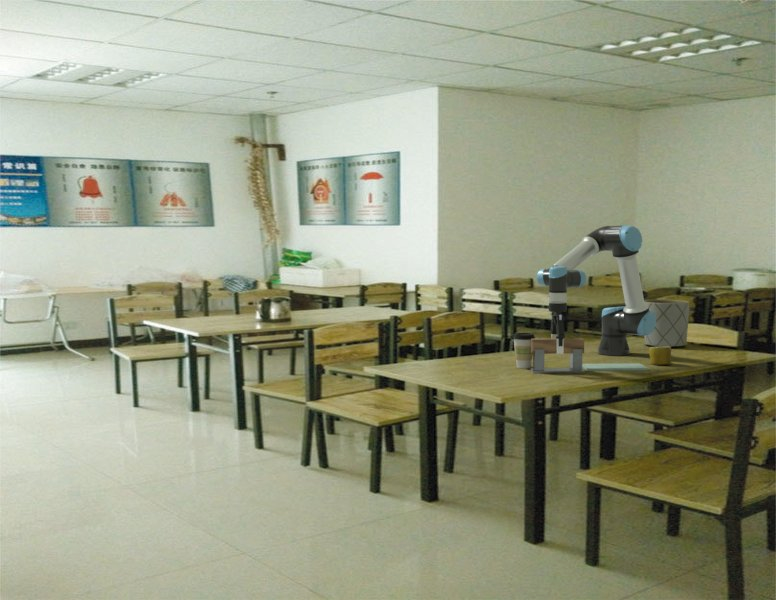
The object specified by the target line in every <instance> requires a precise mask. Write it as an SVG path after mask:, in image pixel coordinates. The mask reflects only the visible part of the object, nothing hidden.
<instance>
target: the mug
mask: <svg viewBox="0 0 776 600" xmlns="http://www.w3.org/2000/svg"><path fill="white" fill-rule="evenodd" d="M648 354H649V359H650V364H651V365H653V366H666V365H669V366H670V365H672V346H671V347H668V346H660V347H657V346H650V347H649V348H648Z"/></svg>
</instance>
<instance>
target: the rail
mask: <svg viewBox="0 0 776 600" xmlns="http://www.w3.org/2000/svg"><path fill="white" fill-rule="evenodd" d="M535 349H544V355H549V354H553V355H554V354H556V355H558V354H557V339H556V338H555V339H551V338H535V339H531V353H532V354H535ZM573 349H582V355H583V354H585V338H581V337H579V338H577V337H576V338H570V337H567V338H564V353H563V354H567V355H568V354H569V355H570V354H573ZM563 354H562V355H563Z"/></svg>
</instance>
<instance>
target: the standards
mask: <svg viewBox="0 0 776 600" xmlns="http://www.w3.org/2000/svg"><path fill="white" fill-rule="evenodd" d="M582 364H583V354H582V349H573V354H569V367H545V354H544V349H535V354H533V357H532V367H531V368H529V370H530V371H531V373H532V374H578V373H579V374H585V373H586V371H585V369H584V368H583V367H582Z"/></svg>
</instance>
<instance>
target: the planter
mask: <svg viewBox="0 0 776 600" xmlns="http://www.w3.org/2000/svg"><path fill="white" fill-rule="evenodd" d="M644 303H645V304H647V305H648V306H649V311H651V312H654V313H655V315H656V325H655V328H654V330H653V332H652V333H651V334H649V335H646V336H644V343H645V346H650V347H660V346H668V347H671V348H672V347H683V346H685V348H686V346H687V340H688V329H689V317H690V315H689V314H690V301H689V300H683V299H644Z"/></svg>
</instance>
